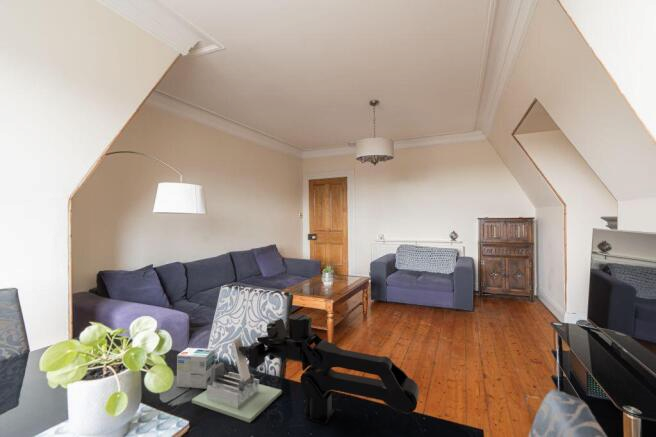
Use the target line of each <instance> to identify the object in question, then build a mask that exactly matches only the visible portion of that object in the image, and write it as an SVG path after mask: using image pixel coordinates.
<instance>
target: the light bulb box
mask: <svg viewBox="0 0 656 437" xmlns="http://www.w3.org/2000/svg"><path fill="white" fill-rule="evenodd" d="M214 365H216V348H199V347H198V348H197V347H187V348H185V349H184V350H182V351H181V352H179V353H178V354H177V355H176V387H178V388H190V387H191V388H193V389H205V390H207V386H208V385H211V367H213V366H214Z"/></svg>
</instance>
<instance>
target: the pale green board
mask: <svg viewBox="0 0 656 437" xmlns="http://www.w3.org/2000/svg"><path fill="white" fill-rule="evenodd" d="M282 394H283V390H282V389H280V388H276V387H272V386H268V385H264V384H260V383H259V392H258V393H257V394H256V395H255V396H253V397H252V398H251V399H250V400H249V401H247V402H246V403H245V404H244V405H242V406H241V407H240V408H239V409H235V408H232V407H229V406H226V405H223V404H220V403H217V402H214V401H211V400H208V399H207V389H205V391H202V392H201V393H200V394H197V395H196V396H195V397H193V398H192V399H191V403H192V404H194V405H198V406H200V407H202V408H205V409H209V410H212V411H215V412H217V413H221V414H223V415H226V416H229V417H233V418H235V419H238V420H241V421H244V422H246V423H251V422H253V421H254V420H255V419H256V418H257V417H258V416H259V415H260V414H261V413H262V412H263V411H264V410H265V409H266V408H267V407H268V406H270V404H272V402H274V401H275V400H277V398H278V397H279V396H280V395H282Z"/></svg>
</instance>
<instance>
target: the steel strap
mask: <svg viewBox="0 0 656 437" xmlns="http://www.w3.org/2000/svg"><path fill="white" fill-rule="evenodd" d="M231 346H232V351H233V354H234V359H235V362H236V366H237V370H238V374H239V375H240V379H241V381H244V387H245V386H247V385H248V384H250V383H251V382H252V379H251V377H250V374H251V373H250V369H249V364H248V360H247V358H246V357H245V356H244V355H243V354H242V353H241V352H240V351H239V347H240V346H244V344H243V342H242V337H237V338H234V339H233V340H232V341H231Z"/></svg>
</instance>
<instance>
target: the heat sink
mask: <svg viewBox="0 0 656 437" xmlns="http://www.w3.org/2000/svg"><path fill="white" fill-rule="evenodd" d="M250 377H251V379H252V382H251V383H250V384H248V385H247V386H245V387H244V381H241V379H240V375H239V373H236V372H232V371H229V372H228V374H225V363H224V362H221V361H220V362H218V363H217V364H216V363H215V365H214V366H213V367H211V384H210V385H208V386H207V388H206V390H207V399H208V400H211V401H214V402H217V403H220V404H223V405H226V406H229V407H232V408H235V409H239V408H240V407H241V406H242V405H244V404H245V403H246V402H247V401H249V400H250V399H251V398H252V397H253V396H255V395H256V394H257V393H258V392H259V384H260V379H258V378H255V374H254V373H250Z"/></svg>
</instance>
